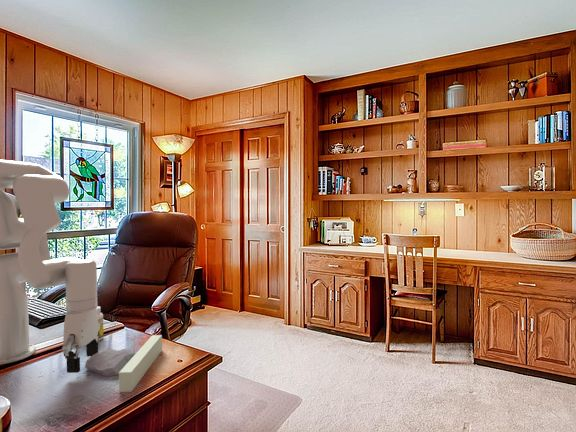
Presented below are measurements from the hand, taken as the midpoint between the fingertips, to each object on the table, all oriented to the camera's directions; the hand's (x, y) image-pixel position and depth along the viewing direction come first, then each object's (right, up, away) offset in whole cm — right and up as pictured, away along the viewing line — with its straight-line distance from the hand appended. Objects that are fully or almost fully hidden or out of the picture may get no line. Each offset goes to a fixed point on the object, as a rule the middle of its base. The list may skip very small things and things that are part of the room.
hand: (83, 363), depth 98 cm
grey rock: (+7, -2, +2) cm, 7 cm away
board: (+17, -2, +1) cm, 17 cm away
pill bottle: (-9, -1, +22) cm, 24 cm away
